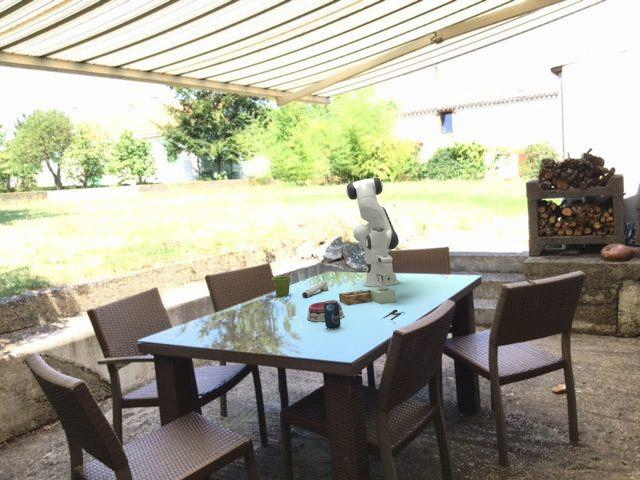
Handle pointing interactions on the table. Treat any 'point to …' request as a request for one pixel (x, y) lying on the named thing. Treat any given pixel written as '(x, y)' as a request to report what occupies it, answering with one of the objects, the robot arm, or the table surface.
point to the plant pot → (282, 285)
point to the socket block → (354, 297)
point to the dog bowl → (319, 312)
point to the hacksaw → (394, 314)
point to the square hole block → (383, 296)
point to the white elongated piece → (315, 289)
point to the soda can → (332, 314)
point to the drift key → (365, 291)
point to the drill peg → (381, 283)
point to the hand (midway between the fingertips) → (382, 282)
